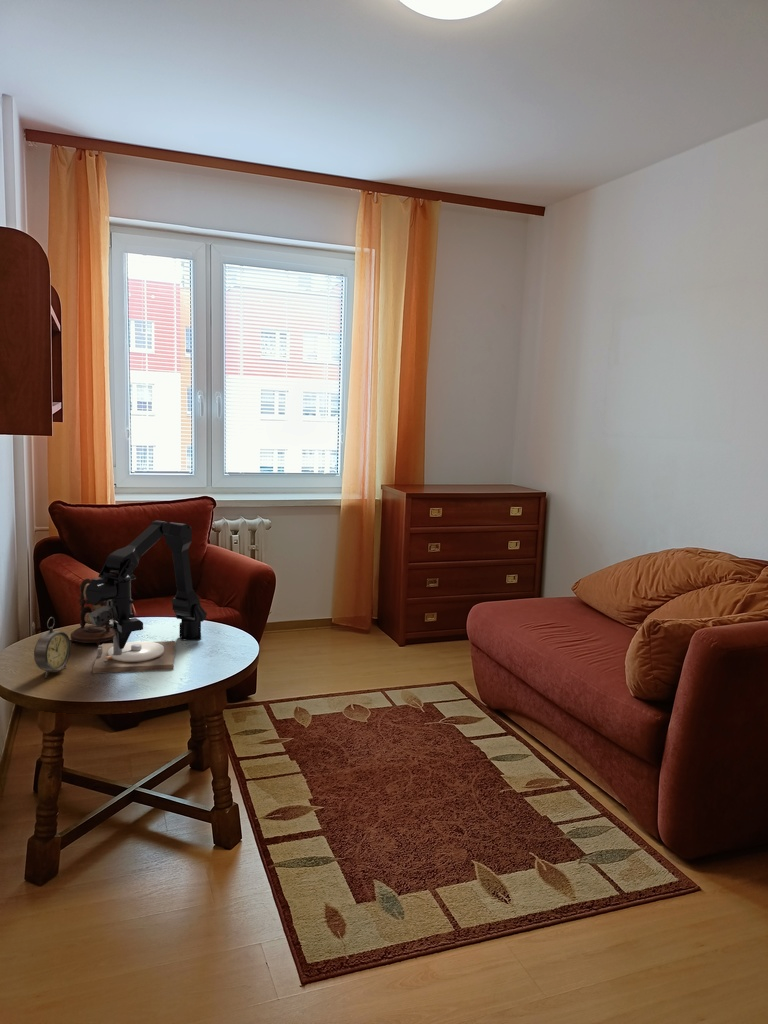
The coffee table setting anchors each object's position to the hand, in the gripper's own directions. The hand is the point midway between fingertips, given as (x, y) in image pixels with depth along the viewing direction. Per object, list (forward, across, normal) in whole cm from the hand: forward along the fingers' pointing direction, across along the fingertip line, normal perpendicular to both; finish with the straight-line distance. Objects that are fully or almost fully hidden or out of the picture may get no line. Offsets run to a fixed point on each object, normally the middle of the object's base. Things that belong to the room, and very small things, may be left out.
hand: (121, 648), depth 210 cm
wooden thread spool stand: (+4, -28, +2) cm, 28 cm away
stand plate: (+5, -4, +6) cm, 9 cm away
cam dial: (+3, -4, +5) cm, 7 cm away
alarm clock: (+5, -5, -18) cm, 19 cm away
